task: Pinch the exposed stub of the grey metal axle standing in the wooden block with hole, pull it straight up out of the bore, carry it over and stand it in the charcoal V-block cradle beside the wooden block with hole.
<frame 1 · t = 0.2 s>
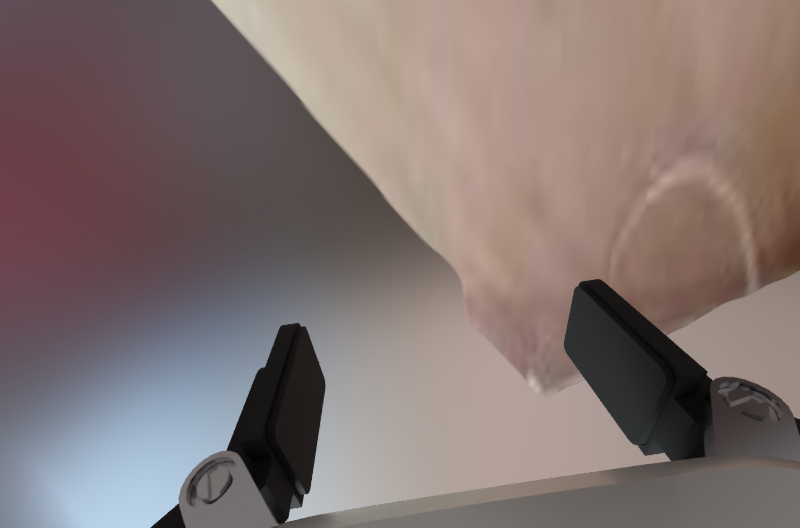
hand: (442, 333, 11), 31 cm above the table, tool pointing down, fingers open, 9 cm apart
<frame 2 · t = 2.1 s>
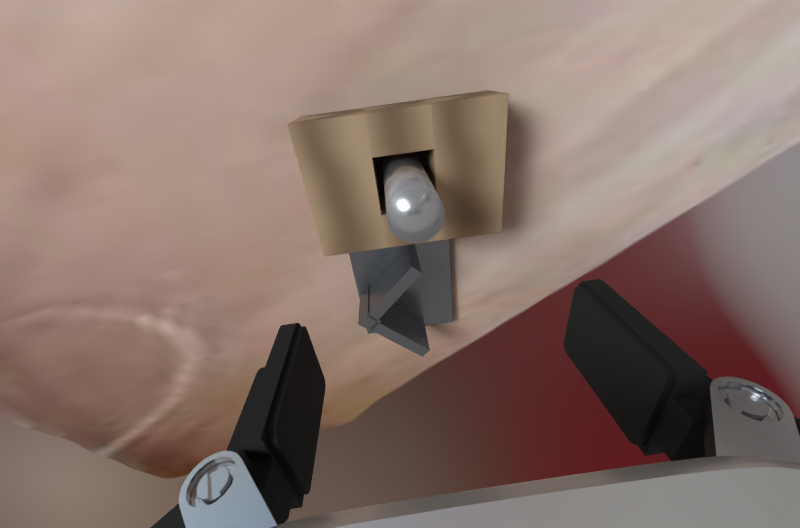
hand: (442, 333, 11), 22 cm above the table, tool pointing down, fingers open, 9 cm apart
v block: (414, 281, 36), on the table
axle: (407, 187, 25), in the wooden block with hole
wooden block with hole: (401, 168, 30), on the table
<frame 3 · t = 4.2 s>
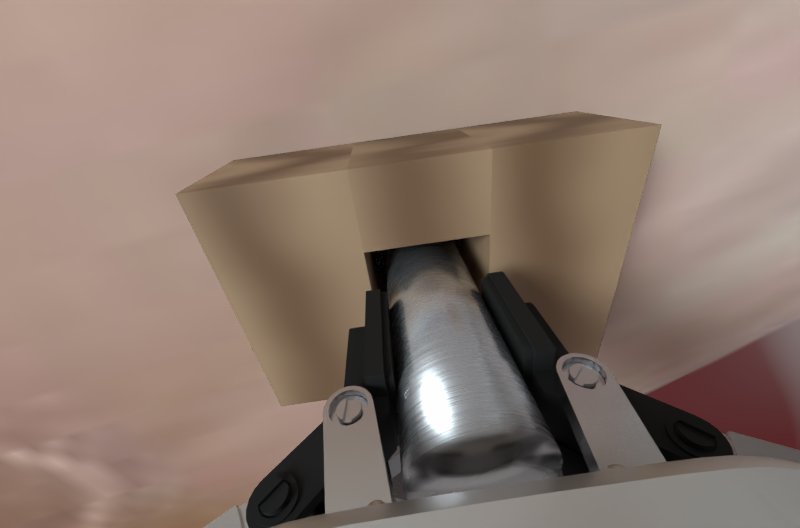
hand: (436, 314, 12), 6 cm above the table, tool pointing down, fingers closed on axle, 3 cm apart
v block: (432, 394, 24), on the table
axle: (435, 310, 12), in the wooden block with hole, touching gripper
wooden block with hole: (416, 241, 17), on the table
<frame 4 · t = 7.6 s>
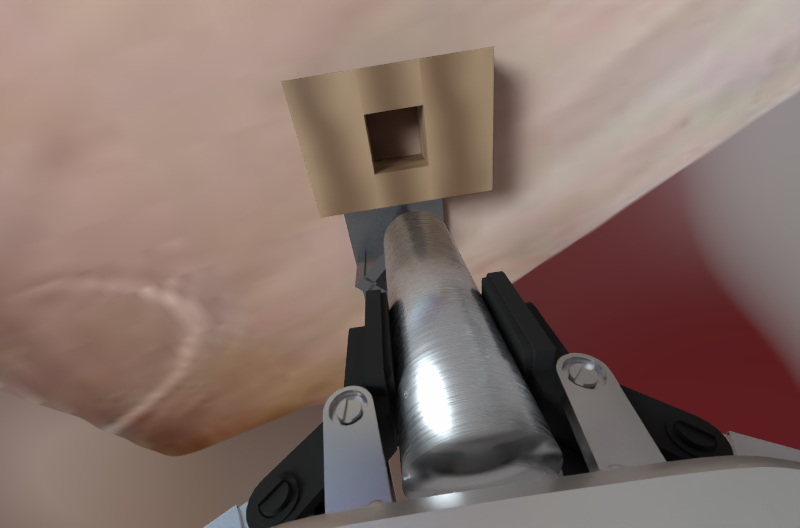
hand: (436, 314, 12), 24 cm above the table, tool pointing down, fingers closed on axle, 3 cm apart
v block: (410, 249, 37), on the table
axle: (435, 309, 12), point 23 cm above the table, touching gripper
wooden block with hole: (394, 132, 31), on the table
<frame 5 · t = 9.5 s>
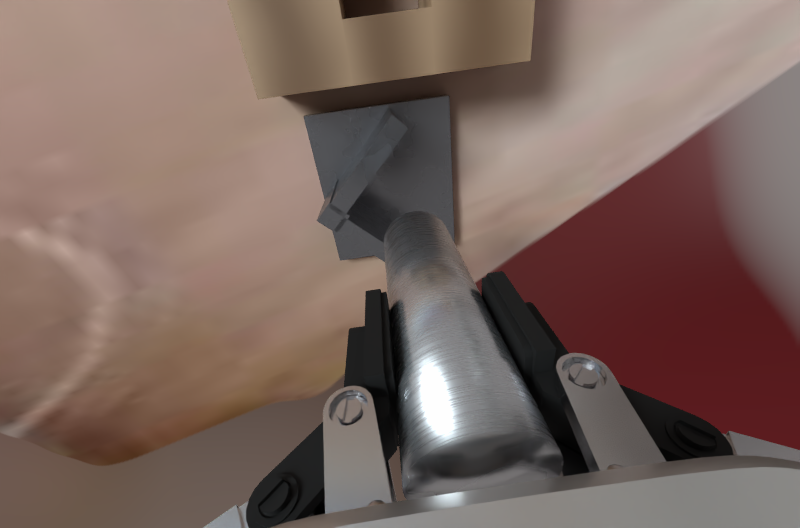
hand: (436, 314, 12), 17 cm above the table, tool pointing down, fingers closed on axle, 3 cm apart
v block: (402, 182, 27), on the table
axle: (435, 310, 12), point 17 cm above the table, touching gripper
when the fingers open (9 cm above the table, at t = 11.1 s): axle drops 2 cm, resting on v block.
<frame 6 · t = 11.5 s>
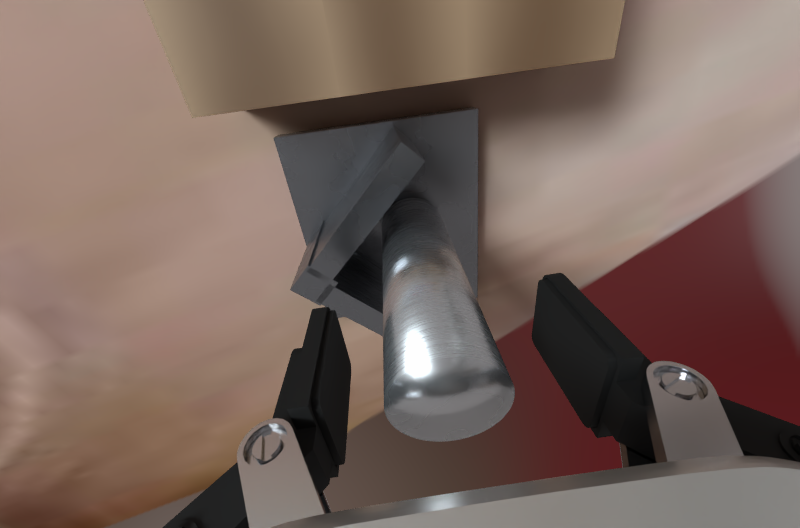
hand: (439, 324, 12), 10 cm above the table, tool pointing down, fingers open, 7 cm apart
v block: (410, 221, 20), on the table
axle: (423, 282, 14), point 7 cm above the table, touching v block
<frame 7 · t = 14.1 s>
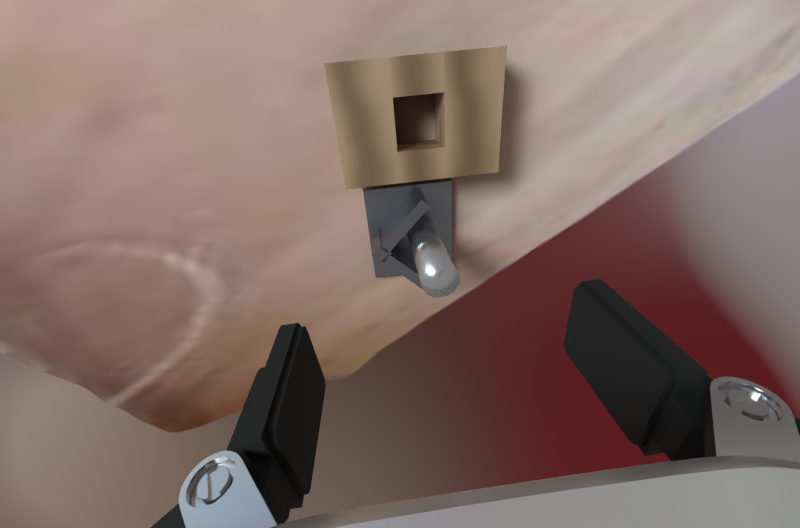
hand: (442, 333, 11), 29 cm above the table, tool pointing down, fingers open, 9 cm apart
v block: (419, 228, 41), on the table
axle: (429, 252, 35), point 7 cm above the table, touching v block
wooden block with hole: (413, 118, 35), on the table
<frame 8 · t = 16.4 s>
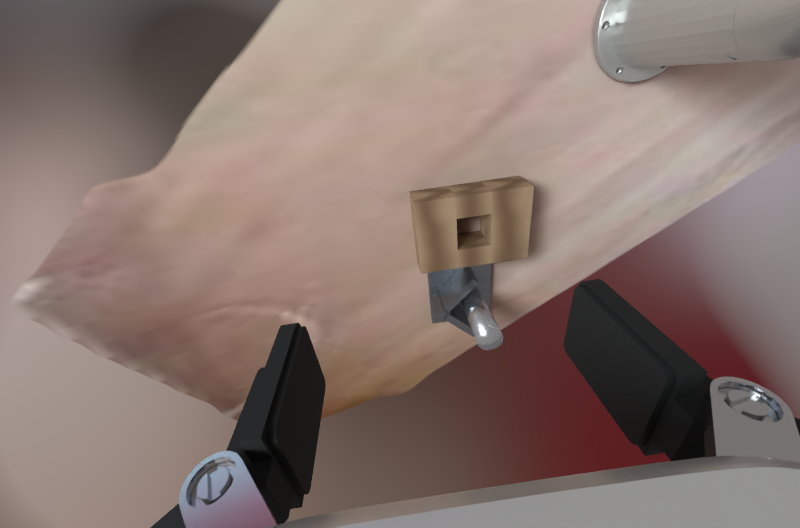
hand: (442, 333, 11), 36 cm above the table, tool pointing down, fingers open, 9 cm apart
v block: (466, 287, 55), on the table
axle: (477, 313, 49), point 7 cm above the table, touching v block
wooden block with hole: (465, 218, 49), on the table
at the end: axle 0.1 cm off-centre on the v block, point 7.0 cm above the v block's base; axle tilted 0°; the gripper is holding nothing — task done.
